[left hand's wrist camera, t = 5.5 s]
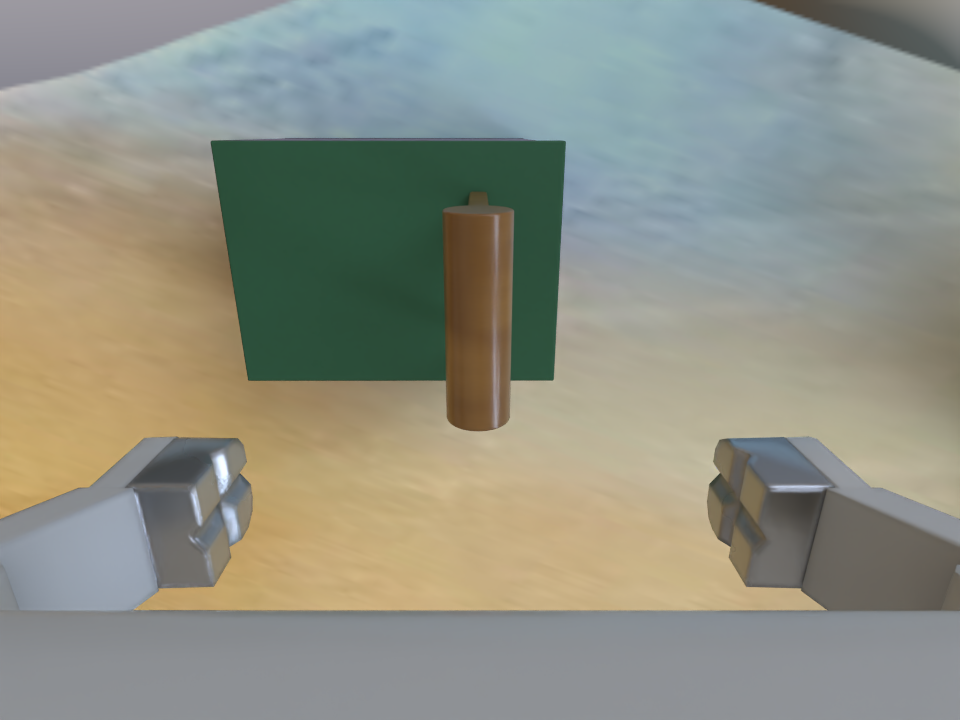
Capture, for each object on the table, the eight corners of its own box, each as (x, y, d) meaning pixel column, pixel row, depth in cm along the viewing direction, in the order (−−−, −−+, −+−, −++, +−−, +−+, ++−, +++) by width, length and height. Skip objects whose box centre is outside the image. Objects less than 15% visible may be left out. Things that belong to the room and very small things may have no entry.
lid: (562, 140, 24) (609, 144, 15) (551, 372, 27) (583, 479, 19) (219, 140, 24) (76, 144, 15) (255, 373, 27) (155, 480, 19)
